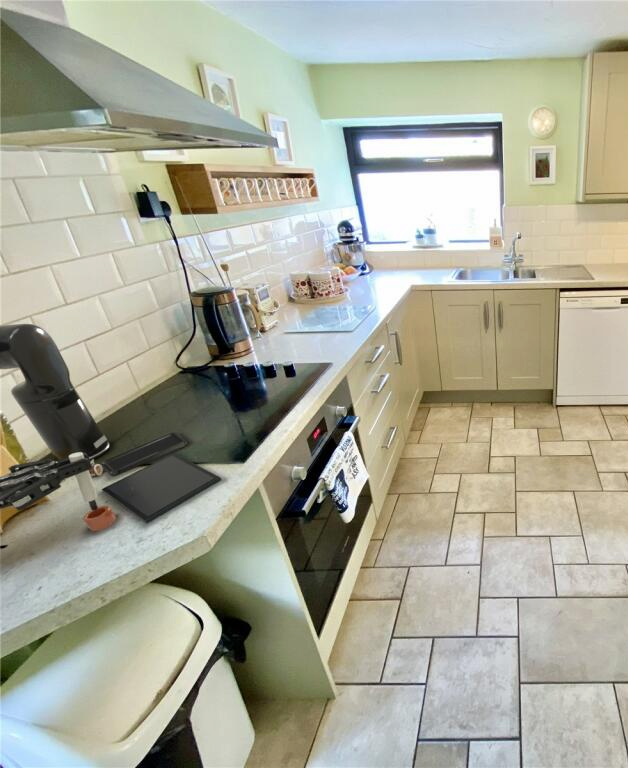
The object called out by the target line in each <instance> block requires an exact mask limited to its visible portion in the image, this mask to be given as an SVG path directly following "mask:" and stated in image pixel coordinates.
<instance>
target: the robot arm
mask: <svg viewBox="0 0 628 768" xmlns="http://www.w3.org/2000/svg"><path fill="white" fill-rule="evenodd" d="M60 351H61V350H59V348H58V345H57V344H56V342H55V339H53V337H52V336H51V334H50V333H48V332H47V331H46V329H44V328H43V327H41V326H39V325H36V324H33V323H15V324H4V325H3V324H2V325H0V370H14V369H19V371H20V373H21V374H22V375H23V378H24V381H21V382H19V383H18V384H16V385H14V386H13V387H12V388H11V390H10V393H11V395H12V397H13V399H14V400H15V401H16V403H17V404H18V406H19V407H20V408H21V410H22V411H23V413H24V414H25V415H26V417H27V418H28V420H29V421H30V423H31V424H32V426H33V428H34V429H35V430H36V432H37V433H38V434H39V436H40V437H41V439H42V441H43V442H44V443H45V445H46V446H47V448H48V449H49V450H50V452H51V454H52V455H53V457H54V458H55V460H53V459H52V458H45V459H39V460H35V461H28V462H23V463H19V464H14V465H11V466H9V467H8V471H10V472H8V473H6V474H4V475H0V510H2V509H6V508H9V507H11V506H12V507H14V508H15V509H16V511H23V510H26V509H27V508H28V507H30V506H31V505H33V504H35V503H36V502H38V501H40V500H42V499H43V498H45V497H47V496H48V495H51V494H52V493H54V492H55V491H57V490H59V489H60V488H62V485H61V483H64V482H65V481H66V479H68V478H71V477H74V476H75V475H77V474H79V473H82V472H85V471H87V470H90V469H91V468H92V462H91V461H92V460H93V459H94V460H95V459H97V458H99V457H101V456H102V455H104V454H105V453H106V452H108V451H109V450H110V448H111V444H110V443H109V441H108V439H107V437H106V435H105V434H104V433H103V432H102V430H101V428H100V426H99V425H98V423H97V422H96V421H95V418H94V417H93V416H92V414H91V412H90V410H89V408H88V407H87V405H86V404H85V402H84V401H83V399H82V397H81V396H80V394H79V392H78V390H77V388H75V385H74V384H73V382H72V380H71V374H70V370H69V367H68V366H67V363H66V362H65V359H64V357H63V356H62V353H61V352H60ZM78 452H81V453H83V455H84V458H83V459H80V460H77V461H74V462H72V463H71V462H70V459H69V455H71V454H74V453H78ZM94 460H93V461H94ZM90 462H91V463H90Z"/></svg>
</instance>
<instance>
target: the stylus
mask: <svg viewBox="0 0 628 768" xmlns="http://www.w3.org/2000/svg"><path fill="white" fill-rule="evenodd" d="M83 458H84V455H83V453H81V452H78V453H74V454H71V455H69V459H70V462H71V463H72V462H74V461H77V460H80V459H83ZM74 476H75V478H76V482H77V484H78V487H79V490H80V492H81V495H82V498H83V501H84V502H85V503H86V502H88V505H89V507H90V511H91V510H96V509H97V508H98V507H99V506H98V504H97V501H96V500H97V499H98V498H99V497H98V494H97V490H96V488H95V485H94V482H93V478H92V476H90V473H89V470H87V471H85V472H82V473H79V474H77V475H74Z"/></svg>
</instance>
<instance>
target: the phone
mask: <svg viewBox="0 0 628 768" xmlns="http://www.w3.org/2000/svg"><path fill="white" fill-rule="evenodd" d="M187 445H188V442H187V440H186V438H184V436H182V435H180V434H179V433H177V431H176V432H175V431H174V432H171V433H168V434H166V435H163V436H161V437H159V438H158V437H157V438H156V439H154V440H151V441H149V442H145V443H143V444H142V445H139V446H137V447H134V448H131V449H129V450H127V451H124V452H122V453H120V454H118V455H115V456H113V457H111V458H108V459H106V460H104V461H102V462H101V466H102V467H103V469H104V470H105V471H106V472H107V473H108V474H109V475H110V476H111V477H117V476H120V475H122V474H124V473H127V472H130V471H131V470H133V469H136V468H138V467H140V466H142V465H144V464H147V463H149V462H152V461H154V460H156V459H158V458H160V457H163V456H165V455H167V454H169V453H171V452H174V451H176V450H178V449H182V448H183V447H186V446H187Z"/></svg>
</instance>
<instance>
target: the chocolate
mask: <svg viewBox="0 0 628 768" xmlns="http://www.w3.org/2000/svg"><path fill="white" fill-rule="evenodd" d="M90 463H91V465H92V468H91V469H90V470H89V473H90V476H91V477H100V476H102V475H103V473H104V467H103V465H102V464H99V463H95V459H93V460H91V462H90Z"/></svg>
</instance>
